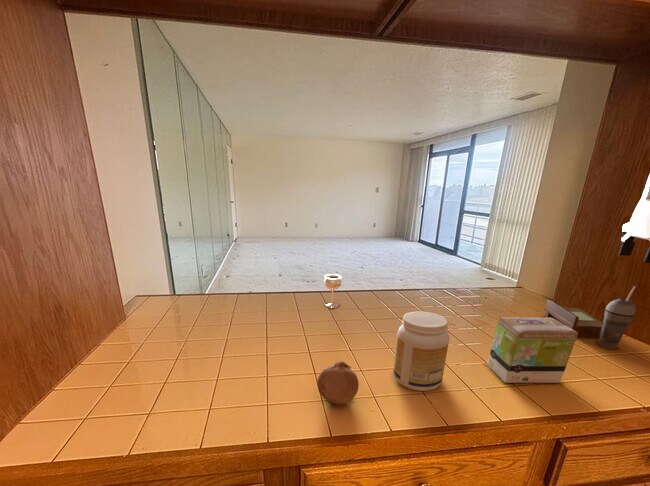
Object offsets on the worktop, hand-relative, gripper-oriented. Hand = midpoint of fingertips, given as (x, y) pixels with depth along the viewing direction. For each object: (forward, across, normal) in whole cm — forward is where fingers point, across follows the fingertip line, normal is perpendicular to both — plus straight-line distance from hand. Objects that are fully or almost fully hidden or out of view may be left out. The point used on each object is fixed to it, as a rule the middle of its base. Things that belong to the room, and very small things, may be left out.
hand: (636, 258), depth 99 cm
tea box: (+28, -21, +34) cm, 49 cm away
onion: (+28, -38, +83) cm, 96 cm away
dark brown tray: (+28, +15, +1) cm, 32 cm away
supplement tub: (+28, -27, +63) cm, 74 cm away
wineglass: (+28, +25, +88) cm, 96 cm away
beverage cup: (+28, 0, -1) cm, 28 cm away
